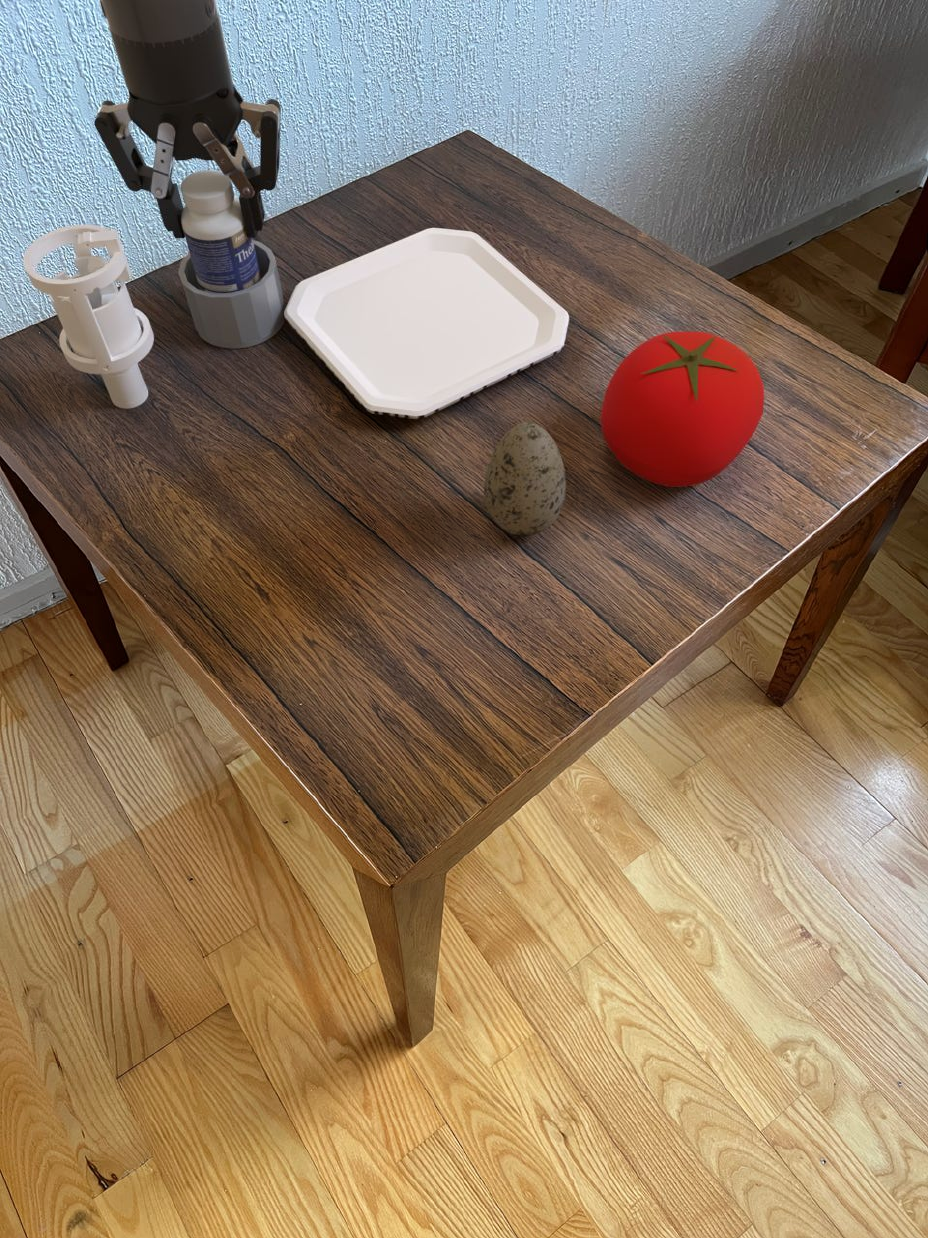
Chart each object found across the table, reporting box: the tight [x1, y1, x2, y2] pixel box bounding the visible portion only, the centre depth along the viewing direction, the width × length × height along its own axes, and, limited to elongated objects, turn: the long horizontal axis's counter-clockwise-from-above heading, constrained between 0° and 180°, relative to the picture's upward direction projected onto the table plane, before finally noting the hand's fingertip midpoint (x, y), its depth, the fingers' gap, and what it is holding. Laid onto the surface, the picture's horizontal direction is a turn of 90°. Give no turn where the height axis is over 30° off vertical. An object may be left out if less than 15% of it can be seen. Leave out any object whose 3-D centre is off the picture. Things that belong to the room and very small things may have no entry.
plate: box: [284, 227, 570, 420], centre depth 85 cm, size 21×21×2 cm
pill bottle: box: [180, 169, 261, 293], centre depth 80 cm, size 5×5×10 cm
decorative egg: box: [483, 422, 567, 537], centre depth 69 cm, size 6×6×10 cm
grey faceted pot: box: [178, 239, 286, 350], centre depth 85 cm, size 8×8×6 cm
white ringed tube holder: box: [22, 224, 155, 410], centre depth 75 cm, size 7×7×15 cm
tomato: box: [600, 330, 765, 488], centre depth 72 cm, size 11×12×10 cm
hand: (217, 231), depth 79 cm, fingers closed on pill bottle, 5 cm apart
